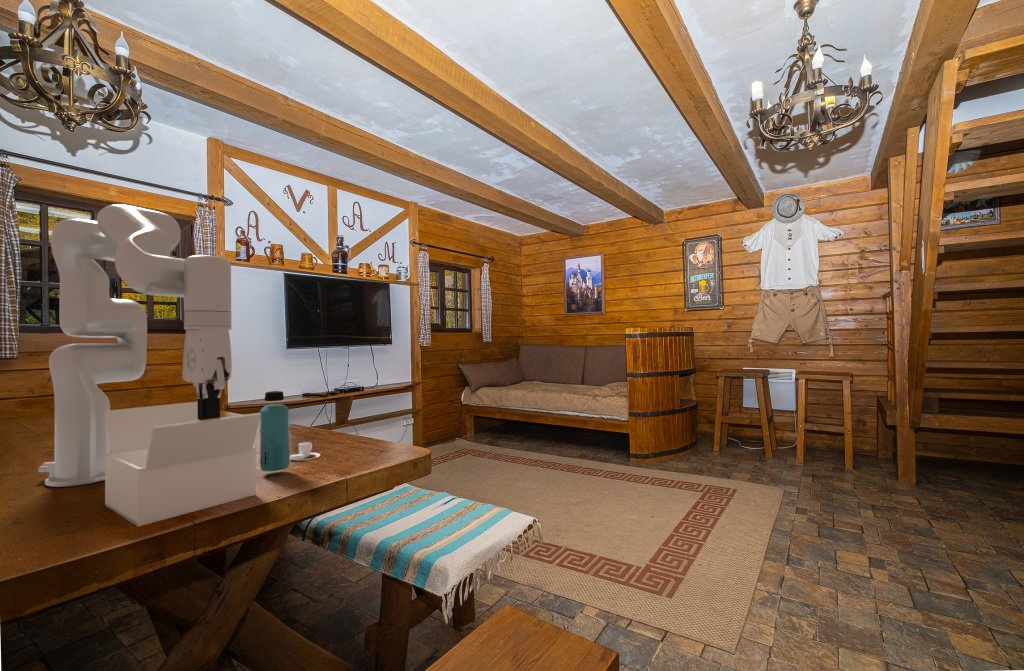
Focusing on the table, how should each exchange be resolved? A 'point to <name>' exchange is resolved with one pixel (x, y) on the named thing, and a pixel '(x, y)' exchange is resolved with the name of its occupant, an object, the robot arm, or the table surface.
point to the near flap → (201, 439)
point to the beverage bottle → (274, 434)
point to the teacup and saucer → (304, 452)
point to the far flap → (144, 423)
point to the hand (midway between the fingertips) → (208, 419)
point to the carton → (175, 484)
